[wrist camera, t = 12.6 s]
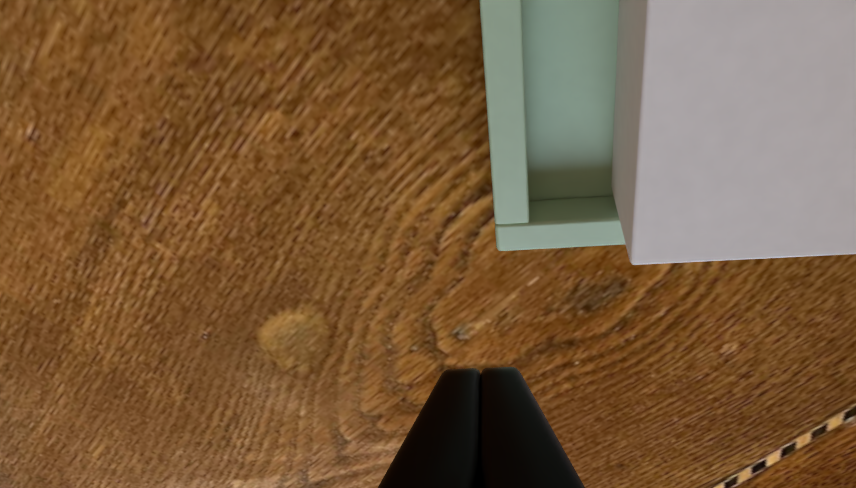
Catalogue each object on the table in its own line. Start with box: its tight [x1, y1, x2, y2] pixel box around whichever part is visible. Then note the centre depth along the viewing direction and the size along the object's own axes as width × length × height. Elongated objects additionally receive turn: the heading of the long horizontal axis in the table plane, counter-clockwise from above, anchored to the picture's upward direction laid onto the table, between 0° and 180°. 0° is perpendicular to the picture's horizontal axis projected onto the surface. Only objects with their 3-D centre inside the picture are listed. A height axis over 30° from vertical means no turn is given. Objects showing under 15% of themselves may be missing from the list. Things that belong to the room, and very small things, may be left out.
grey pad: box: [611, 0, 856, 265], centre depth 15 cm, size 7×5×3 cm
